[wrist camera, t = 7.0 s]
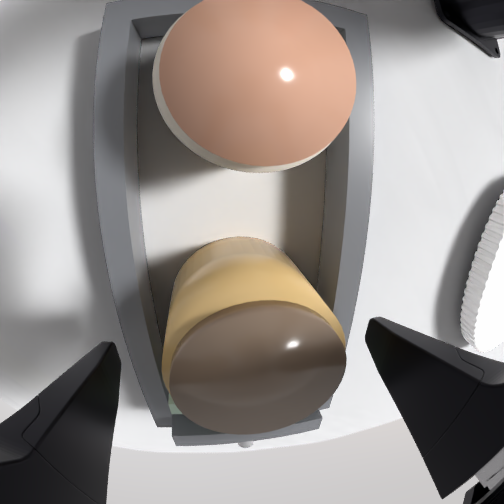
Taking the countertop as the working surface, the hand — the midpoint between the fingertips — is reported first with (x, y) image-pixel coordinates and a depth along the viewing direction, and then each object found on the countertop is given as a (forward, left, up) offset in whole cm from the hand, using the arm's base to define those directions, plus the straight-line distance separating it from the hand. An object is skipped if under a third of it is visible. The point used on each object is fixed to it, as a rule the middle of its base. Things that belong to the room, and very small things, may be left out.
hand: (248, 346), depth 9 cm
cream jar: (0, -8, -3) cm, 9 cm away
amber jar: (0, 0, -3) cm, 3 cm away
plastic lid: (-21, 0, -4) cm, 21 cm away
